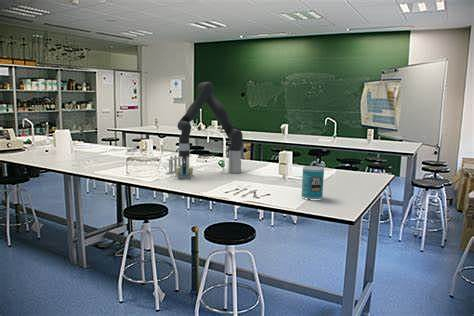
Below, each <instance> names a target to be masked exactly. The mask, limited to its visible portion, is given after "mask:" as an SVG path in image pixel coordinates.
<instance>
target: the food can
mask: <svg viewBox="0 0 474 316" xmlns="http://www.w3.org/2000/svg"><path fill="white" fill-rule="evenodd" d="M324 169H325V168H324V167H322V166H316V165H305V166H303V167H302V176H301V177H302V178H301V198H302V197H304V198H307V199H321V198H322V199H323V195H324V194H323V192H324V191H323V190H324V179H325V178H324V177H325V176H324V175H325V170H324ZM322 199H321V200H322Z"/></svg>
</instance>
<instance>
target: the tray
mask: <svg viewBox="0 0 474 316" xmlns="http://www.w3.org/2000/svg"><path fill="white" fill-rule="evenodd" d="M177 180H192V176H191V173H189V175H180V173H178V176H177Z"/></svg>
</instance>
